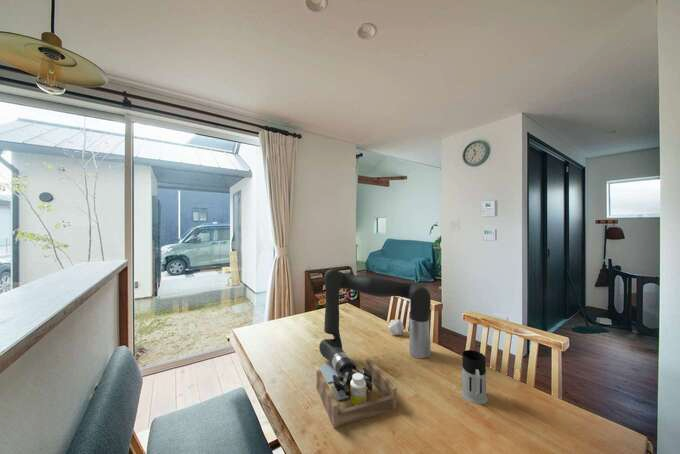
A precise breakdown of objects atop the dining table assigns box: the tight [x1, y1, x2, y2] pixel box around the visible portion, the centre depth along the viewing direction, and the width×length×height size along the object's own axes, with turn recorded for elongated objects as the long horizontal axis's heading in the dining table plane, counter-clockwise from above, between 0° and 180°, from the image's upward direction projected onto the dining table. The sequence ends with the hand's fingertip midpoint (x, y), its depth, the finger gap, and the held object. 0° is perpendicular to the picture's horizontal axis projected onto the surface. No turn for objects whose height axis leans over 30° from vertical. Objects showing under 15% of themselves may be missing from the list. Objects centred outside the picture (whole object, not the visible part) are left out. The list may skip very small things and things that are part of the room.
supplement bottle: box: [350, 373, 367, 407], centre depth 89 cm, size 6×6×10 cm
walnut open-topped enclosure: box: [315, 357, 398, 429], centre depth 92 cm, size 20×23×7 cm
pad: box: [319, 363, 341, 384], centre depth 108 cm, size 12×13×1 cm
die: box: [388, 319, 405, 336], centre depth 143 cm, size 8×9×10 cm
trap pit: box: [331, 384, 370, 402], centre depth 96 cm, size 8×12×1 cm, turn 110°
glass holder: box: [460, 349, 489, 405], centre depth 90 cm, size 9×14×15 cm, turn 161°
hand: (360, 391), depth 87 cm, fingers open, 7 cm apart
